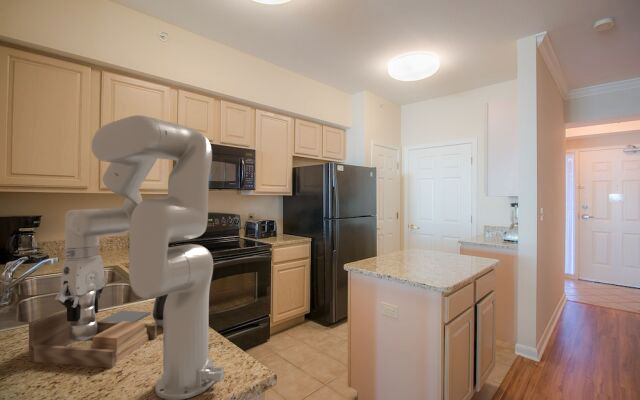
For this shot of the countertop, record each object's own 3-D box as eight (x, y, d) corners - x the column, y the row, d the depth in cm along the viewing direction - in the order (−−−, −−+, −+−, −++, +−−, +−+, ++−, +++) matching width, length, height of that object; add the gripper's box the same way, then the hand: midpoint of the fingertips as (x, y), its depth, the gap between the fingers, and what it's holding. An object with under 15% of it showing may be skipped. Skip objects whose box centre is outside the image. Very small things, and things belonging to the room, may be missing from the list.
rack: (156, 337, 93) (156, 304, 93) (112, 367, 76) (112, 327, 76) (86, 332, 96) (86, 301, 96) (28, 361, 80) (28, 322, 80)
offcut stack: (148, 341, 91) (148, 320, 91) (116, 362, 79) (116, 339, 79) (123, 339, 92) (123, 319, 92) (88, 360, 80) (88, 337, 80)
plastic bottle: (79, 345, 83) (78, 271, 83) (62, 342, 85) (61, 270, 85) (103, 335, 89) (102, 267, 89) (86, 333, 91) (86, 265, 91)
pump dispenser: (165, 333, 96) (165, 285, 96) (146, 326, 101) (145, 280, 101) (193, 322, 105) (193, 278, 105) (174, 316, 110) (174, 274, 110)
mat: (150, 313, 113) (150, 312, 113) (125, 327, 101) (125, 325, 101) (121, 312, 114) (121, 310, 114) (93, 325, 102) (93, 323, 102)
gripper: (65, 258, 78) (66, 330, 78) (118, 248, 95) (118, 306, 95) (39, 258, 79) (40, 328, 79) (96, 248, 96) (97, 306, 96)
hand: (83, 316), depth 87 cm, fingers closed on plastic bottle, 5 cm apart
